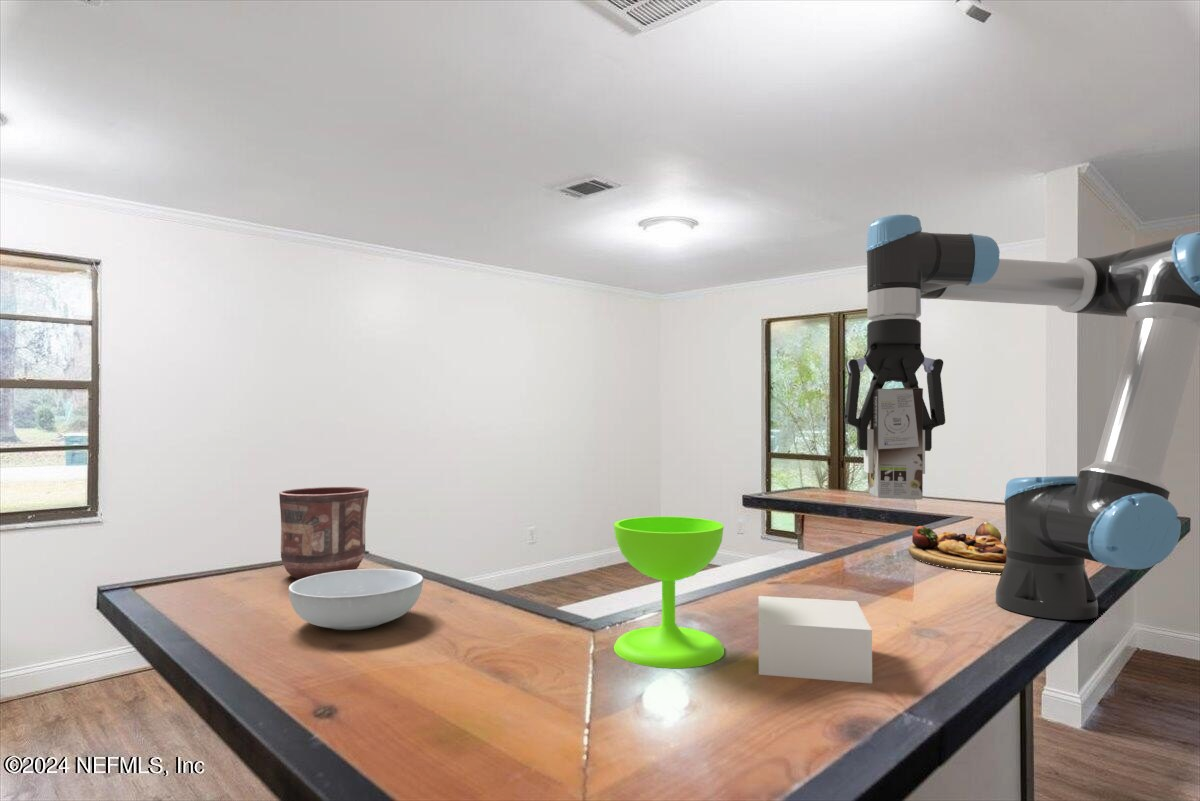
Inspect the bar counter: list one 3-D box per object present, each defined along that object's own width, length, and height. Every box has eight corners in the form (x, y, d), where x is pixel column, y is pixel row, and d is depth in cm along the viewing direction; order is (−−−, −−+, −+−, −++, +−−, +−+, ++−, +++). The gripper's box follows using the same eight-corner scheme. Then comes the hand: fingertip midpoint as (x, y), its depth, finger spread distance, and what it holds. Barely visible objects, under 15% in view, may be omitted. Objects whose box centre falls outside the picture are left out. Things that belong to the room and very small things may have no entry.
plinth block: (857, 649, 102) (856, 601, 102) (872, 685, 88) (871, 630, 89) (758, 642, 105) (758, 595, 105) (758, 676, 92) (758, 622, 92)
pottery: (349, 584, 140) (350, 494, 141) (262, 584, 141) (264, 494, 141) (378, 566, 158) (379, 486, 159) (301, 566, 158) (302, 486, 159)
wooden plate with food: (890, 564, 162) (890, 528, 162) (929, 543, 186) (929, 512, 186) (1054, 588, 141) (1054, 547, 141) (1073, 561, 166) (1073, 526, 166)
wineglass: (650, 676, 91) (650, 536, 91) (594, 641, 105) (594, 520, 106) (747, 656, 98) (747, 527, 99) (683, 626, 113) (683, 513, 113)
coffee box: (924, 500, 100) (924, 387, 101) (877, 498, 102) (876, 387, 102) (910, 493, 109) (909, 390, 110) (866, 492, 111) (866, 390, 111)
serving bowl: (448, 613, 120) (448, 573, 120) (359, 651, 101) (359, 603, 101) (356, 600, 129) (356, 562, 129) (257, 632, 110) (258, 588, 110)
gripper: (952, 323, 109) (953, 471, 108) (822, 324, 111) (822, 469, 111) (971, 316, 101) (972, 476, 101) (831, 317, 104) (831, 473, 103)
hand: (893, 472), depth 106 cm, fingers closed on coffee box, 7 cm apart
